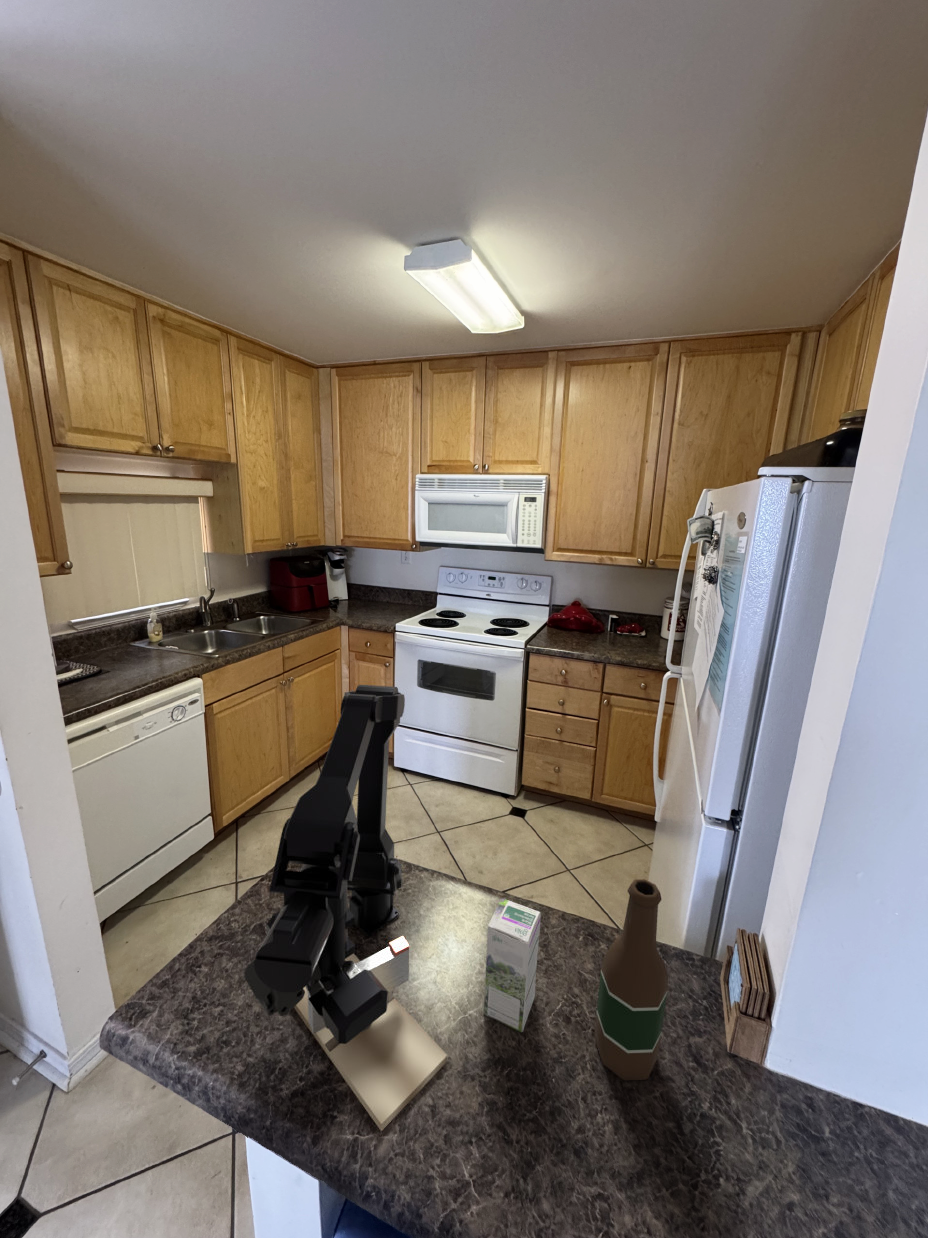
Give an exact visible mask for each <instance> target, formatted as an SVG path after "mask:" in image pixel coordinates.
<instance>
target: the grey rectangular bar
mask: <svg viewBox="0 0 928 1238" xmlns="http://www.w3.org/2000/svg"><path fill="white" fill-rule="evenodd" d="M388 944H389V946H387V947H386V948H384V949H382V950H380V951H378V952H376V953H374V954H372V955H370V956H368V957H366V958H364V959H362V960H360V962H358V963H356V965H357V966H358V968H359V969H360V970H361V971H363V970H364V969H365V970H369V971H371V972H372V973H373V974H374V975H375V976H376V978H377V979H378V980H379V981H380V982H381V984H382V985H383V986H384V987H385V989H386V990H387V991H388V992H391V991H392V990H394V989H396V988H398V987H399V986H401V985H403V984H405V983H407V982H409V981H410V980H409V979H410V977H409V975H410V973H409V972H410V945H409V943H408V941H407V940H406V939H405V937H404V936H403V935H402V936H400V937H398V938H396V939H394V940H392V941H390V942H389V943H388ZM321 989H322V986H321V984H320V983H317V984H315V985H313V986H311V987H309V988H307V990H308V998H310V997H311V996H313V995H314V994H316V993H317V992H318V991H320V990H321ZM308 1018H309V1024H310V1027H311V1029H312V1032H313V1034H315V1033H316V1032H318V1031H320V1030H322V1029H324V1028H325V1027H326V1026H325V1023H324V1019H323V1016H320V1015H319V1014H318V1013H317V1012H316V1010H315V1009H314V1007H313V1006H312V1004H311V1002H310V1001H309V999H308ZM313 1034H312V1035H313Z"/></svg>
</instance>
